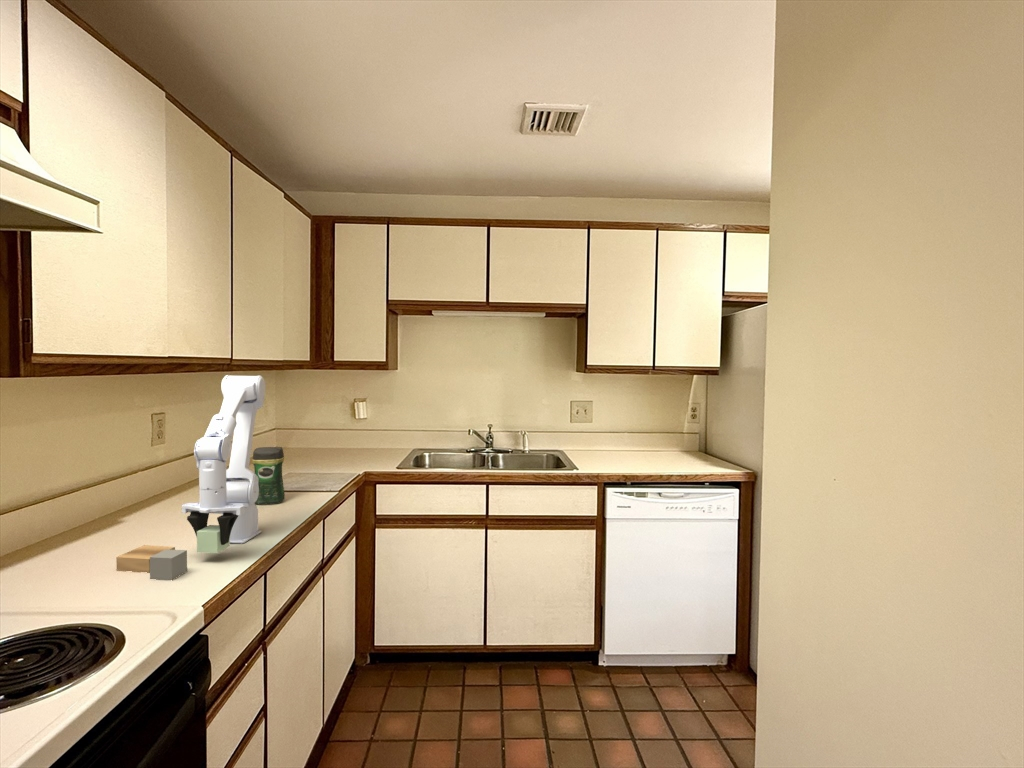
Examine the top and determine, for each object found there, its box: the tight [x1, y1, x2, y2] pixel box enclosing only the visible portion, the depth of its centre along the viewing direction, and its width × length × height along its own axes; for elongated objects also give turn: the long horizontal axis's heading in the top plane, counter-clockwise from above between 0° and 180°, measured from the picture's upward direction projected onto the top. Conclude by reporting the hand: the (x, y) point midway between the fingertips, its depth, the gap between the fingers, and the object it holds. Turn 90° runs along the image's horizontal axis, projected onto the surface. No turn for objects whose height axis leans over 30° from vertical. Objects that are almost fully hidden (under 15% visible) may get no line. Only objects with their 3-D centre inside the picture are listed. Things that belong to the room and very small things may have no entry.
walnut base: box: [116, 544, 176, 574], centre depth 127 cm, size 8×8×4 cm
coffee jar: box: [251, 446, 286, 505], centre depth 183 cm, size 10×8×19 cm
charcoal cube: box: [149, 549, 188, 581], centre depth 121 cm, size 5×5×5 cm
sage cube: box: [196, 524, 231, 554], centre depth 131 cm, size 5×5×5 cm
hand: (213, 543), depth 131 cm, fingers closed on sage cube, 5 cm apart
